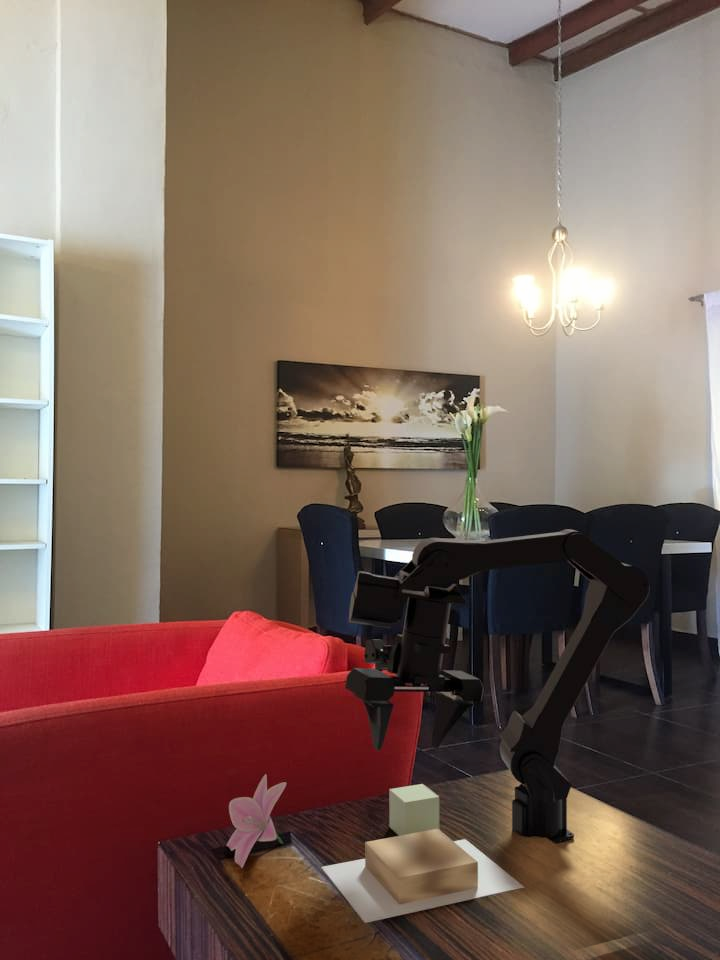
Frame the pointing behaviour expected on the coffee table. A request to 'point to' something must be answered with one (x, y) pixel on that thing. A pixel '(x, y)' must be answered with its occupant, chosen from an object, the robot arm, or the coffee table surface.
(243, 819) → the lily
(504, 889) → the white rectangular plate
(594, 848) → the coffee table surface
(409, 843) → the base block
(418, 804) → the top block
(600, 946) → the coffee table surface
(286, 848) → the coffee table surface
